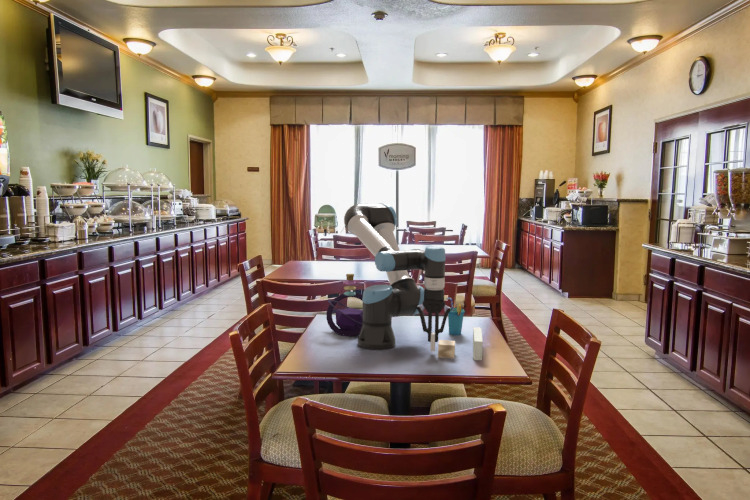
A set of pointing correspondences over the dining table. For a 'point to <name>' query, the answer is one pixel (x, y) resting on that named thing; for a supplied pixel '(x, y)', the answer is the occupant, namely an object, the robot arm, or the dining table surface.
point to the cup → (455, 319)
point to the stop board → (477, 343)
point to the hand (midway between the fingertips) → (432, 350)
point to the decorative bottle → (346, 312)
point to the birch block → (446, 349)
